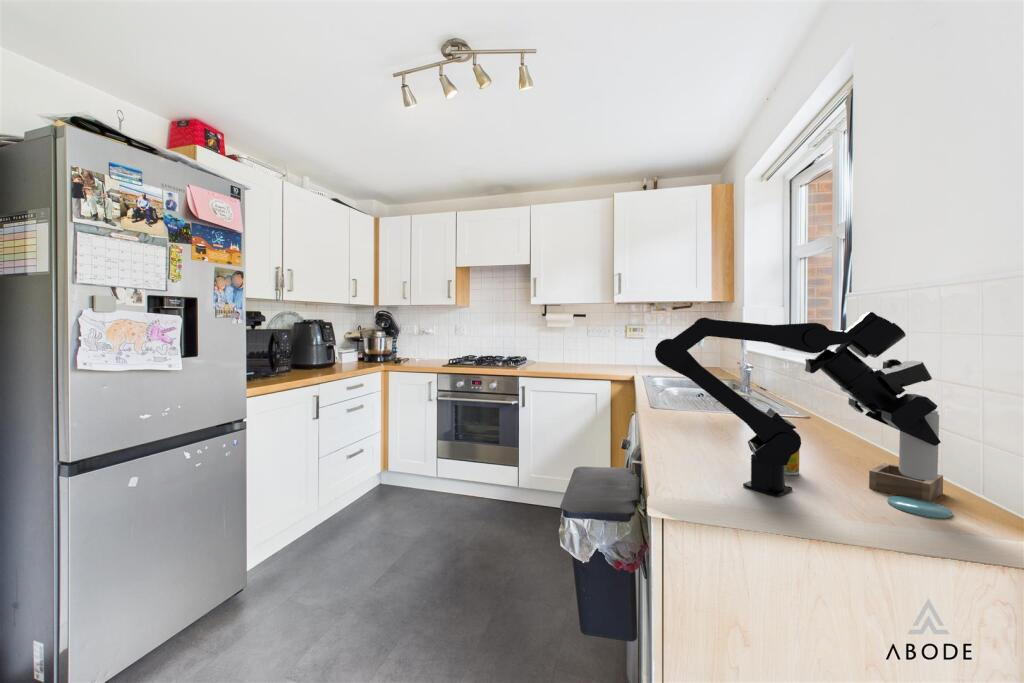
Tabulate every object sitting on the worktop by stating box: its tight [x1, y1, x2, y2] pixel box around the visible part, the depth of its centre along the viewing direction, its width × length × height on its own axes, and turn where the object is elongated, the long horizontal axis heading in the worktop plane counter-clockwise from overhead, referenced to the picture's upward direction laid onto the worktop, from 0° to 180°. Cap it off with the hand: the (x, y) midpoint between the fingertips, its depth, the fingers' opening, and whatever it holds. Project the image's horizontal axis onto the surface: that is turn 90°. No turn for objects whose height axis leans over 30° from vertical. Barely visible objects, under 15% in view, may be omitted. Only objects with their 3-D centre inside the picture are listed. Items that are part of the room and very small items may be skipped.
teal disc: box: [887, 495, 953, 519], centre depth 70 cm, size 8×8×1 cm
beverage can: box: [898, 409, 940, 480], centre depth 70 cm, size 5×5×12 cm
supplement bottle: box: [785, 429, 800, 476], centre depth 89 cm, size 5×5×10 cm
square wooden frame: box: [868, 463, 944, 502], centre depth 78 cm, size 9×9×4 cm
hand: (928, 440), depth 70 cm, fingers closed on beverage can, 5 cm apart
